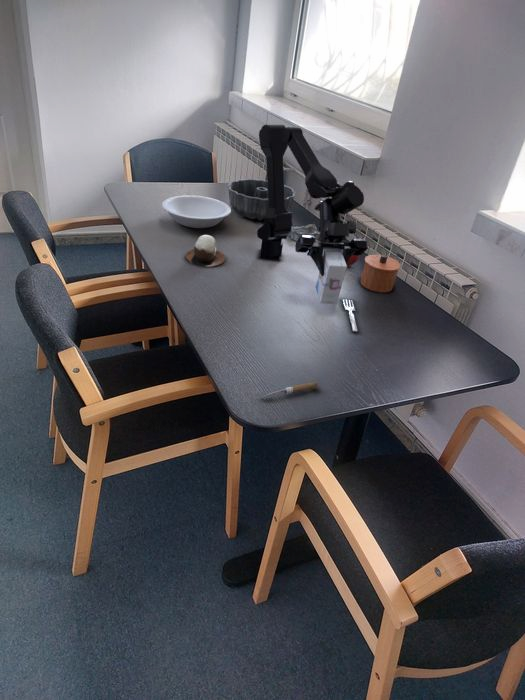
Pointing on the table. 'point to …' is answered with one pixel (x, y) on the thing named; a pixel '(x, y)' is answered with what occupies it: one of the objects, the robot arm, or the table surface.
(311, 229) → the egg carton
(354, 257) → the onion
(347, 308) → the fork
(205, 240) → the brown and cream dessert
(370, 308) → the table surface
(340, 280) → the ink box
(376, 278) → the pot
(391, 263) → the pot lid
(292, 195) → the bundt pan
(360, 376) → the table surface
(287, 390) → the folding knife
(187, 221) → the soup bowl
